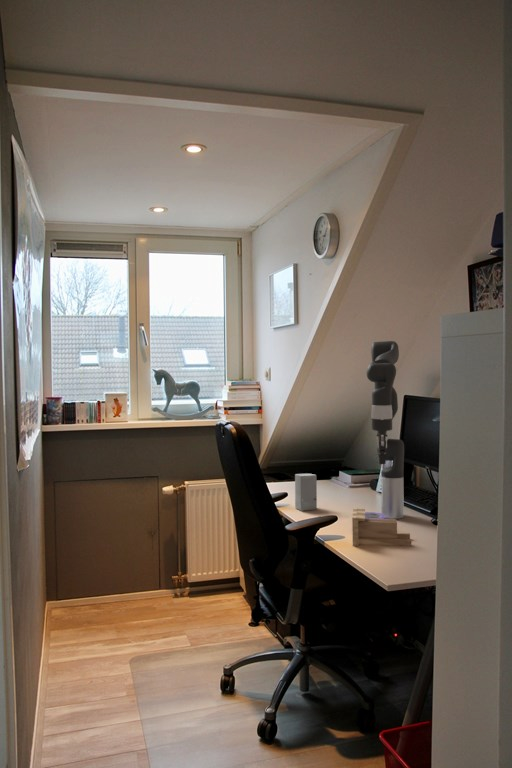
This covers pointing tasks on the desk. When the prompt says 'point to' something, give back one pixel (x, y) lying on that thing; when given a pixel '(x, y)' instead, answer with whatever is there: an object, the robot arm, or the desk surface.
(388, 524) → the light brown wooden block
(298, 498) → the skincare box
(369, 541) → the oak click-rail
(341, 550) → the desk surface
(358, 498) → the desk surface
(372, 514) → the tape roll
